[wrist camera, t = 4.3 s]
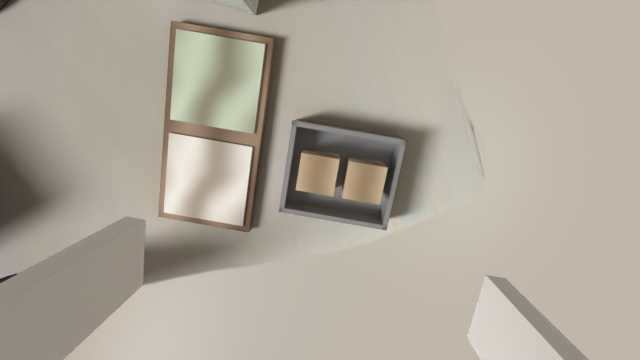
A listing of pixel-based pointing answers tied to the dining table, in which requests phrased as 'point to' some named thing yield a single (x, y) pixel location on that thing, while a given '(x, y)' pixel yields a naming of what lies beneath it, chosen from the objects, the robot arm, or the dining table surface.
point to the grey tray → (341, 173)
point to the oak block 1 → (317, 172)
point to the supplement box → (240, 5)
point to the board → (214, 125)
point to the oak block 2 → (364, 180)
